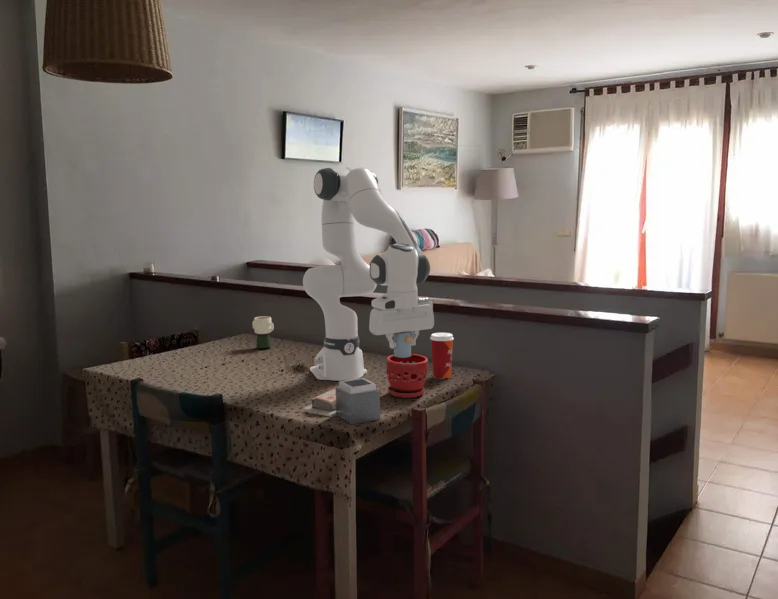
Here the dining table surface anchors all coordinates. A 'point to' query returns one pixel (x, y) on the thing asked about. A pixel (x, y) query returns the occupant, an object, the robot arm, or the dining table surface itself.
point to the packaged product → (323, 404)
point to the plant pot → (407, 375)
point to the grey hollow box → (357, 401)
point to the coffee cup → (441, 354)
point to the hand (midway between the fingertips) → (402, 346)
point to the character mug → (263, 331)
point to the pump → (403, 344)
